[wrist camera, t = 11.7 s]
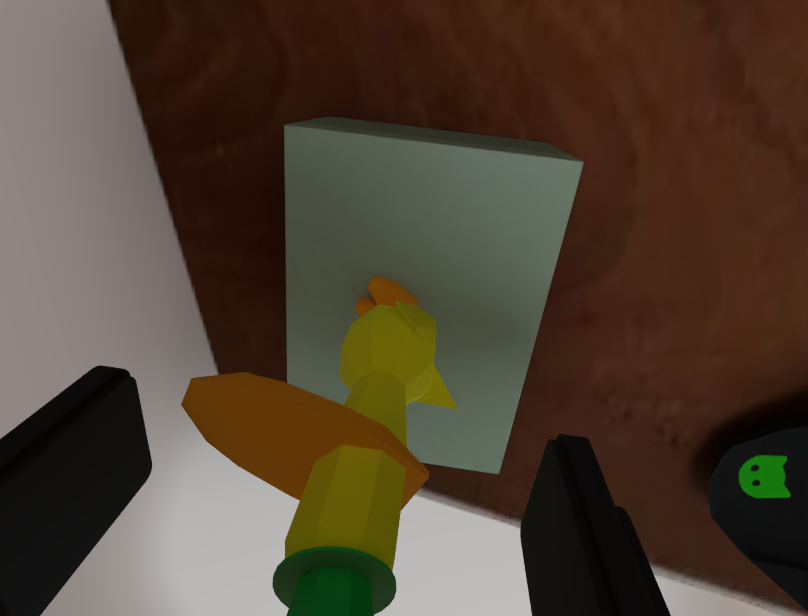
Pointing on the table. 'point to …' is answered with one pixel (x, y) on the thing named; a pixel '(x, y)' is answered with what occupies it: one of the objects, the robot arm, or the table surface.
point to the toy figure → (335, 453)
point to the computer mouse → (767, 500)
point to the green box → (426, 262)
